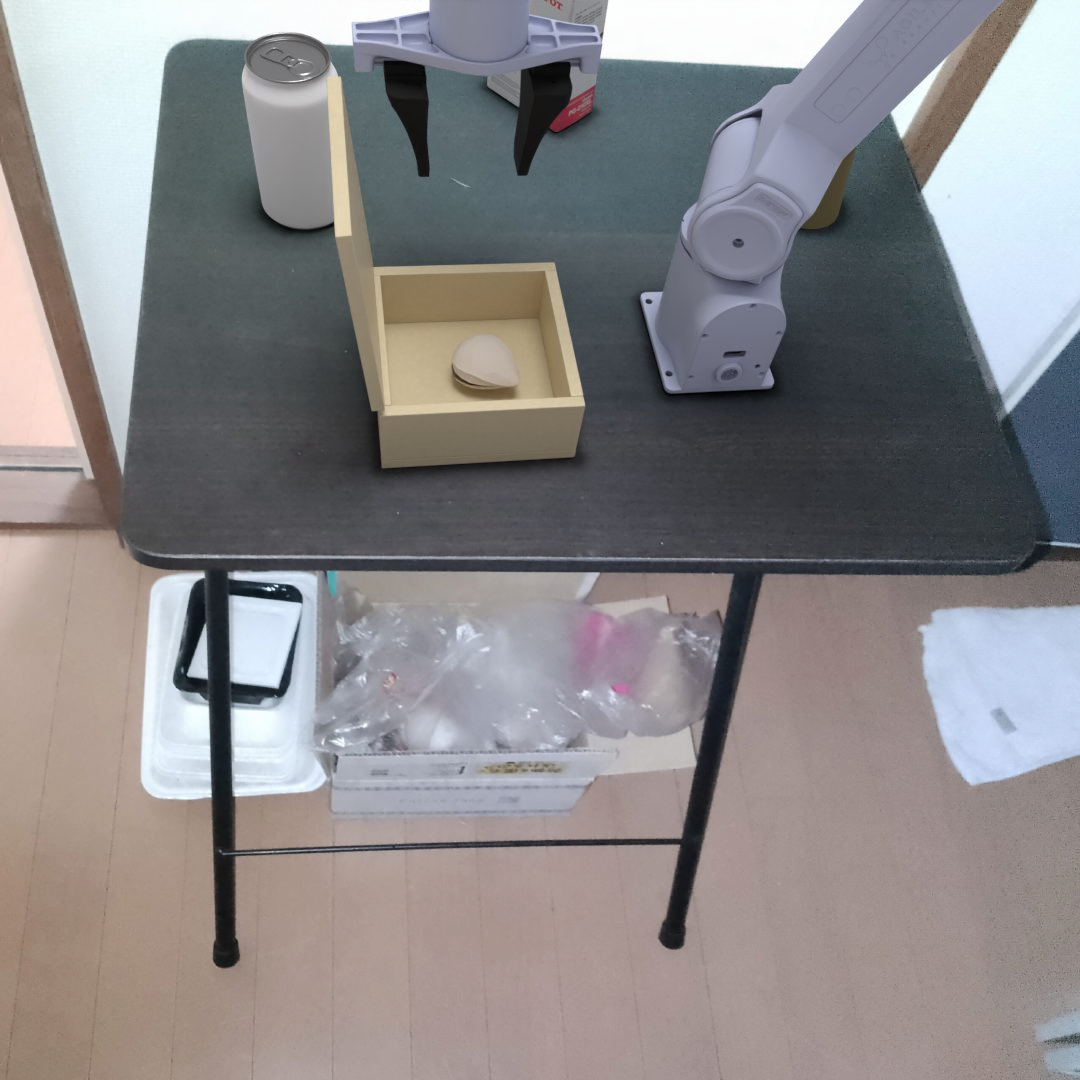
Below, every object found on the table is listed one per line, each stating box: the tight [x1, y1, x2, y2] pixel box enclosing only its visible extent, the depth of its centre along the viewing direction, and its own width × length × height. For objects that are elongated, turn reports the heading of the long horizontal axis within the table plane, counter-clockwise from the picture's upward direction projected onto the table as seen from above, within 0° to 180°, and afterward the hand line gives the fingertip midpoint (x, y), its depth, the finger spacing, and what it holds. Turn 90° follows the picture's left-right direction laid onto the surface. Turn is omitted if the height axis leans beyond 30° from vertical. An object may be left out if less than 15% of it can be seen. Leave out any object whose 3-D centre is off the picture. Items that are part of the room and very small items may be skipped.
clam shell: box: [451, 334, 520, 389], centre depth 66 cm, size 4×5×2 cm
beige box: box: [373, 261, 586, 469], centre depth 65 cm, size 13×13×5 cm
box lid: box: [326, 75, 385, 412], centre depth 56 cm, size 13×13×1 cm
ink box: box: [486, 0, 609, 133], centre depth 81 cm, size 8×5×12 cm, turn 47°
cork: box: [800, 145, 858, 230], centre depth 77 cm, size 6×6×11 cm
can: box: [241, 31, 339, 231], centre depth 71 cm, size 6×6×12 cm
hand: (472, 166), depth 65 cm, fingers open, 6 cm apart
